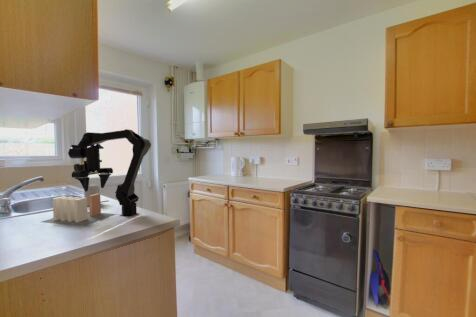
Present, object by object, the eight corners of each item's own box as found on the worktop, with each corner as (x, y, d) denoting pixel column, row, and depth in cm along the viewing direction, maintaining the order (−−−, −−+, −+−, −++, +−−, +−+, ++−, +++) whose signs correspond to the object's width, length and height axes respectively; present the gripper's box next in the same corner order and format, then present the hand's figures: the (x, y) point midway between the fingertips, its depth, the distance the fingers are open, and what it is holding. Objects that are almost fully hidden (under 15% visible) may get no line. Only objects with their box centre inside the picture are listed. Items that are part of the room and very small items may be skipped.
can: (81, 206, 131) (80, 185, 130) (93, 203, 138) (92, 183, 137) (91, 207, 129) (90, 186, 128) (103, 204, 136) (102, 184, 135)
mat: (116, 215, 114) (116, 214, 114) (84, 227, 97) (84, 226, 97) (76, 212, 120) (76, 210, 120) (40, 223, 102) (40, 221, 102)
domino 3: (80, 218, 108) (79, 197, 107) (70, 221, 103) (69, 199, 102) (77, 217, 108) (77, 196, 107) (67, 221, 103) (66, 199, 103)
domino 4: (87, 218, 107) (86, 197, 106) (77, 222, 102) (77, 200, 101) (84, 218, 107) (84, 197, 107) (74, 222, 102) (74, 199, 102)
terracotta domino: (100, 213, 115) (100, 193, 115) (92, 216, 110) (91, 195, 110) (98, 213, 116) (97, 193, 115) (89, 216, 111) (88, 195, 110)
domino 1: (66, 217, 109) (66, 196, 109) (56, 220, 105) (55, 198, 104) (64, 216, 110) (63, 196, 109) (53, 220, 105) (52, 198, 104)
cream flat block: (73, 217, 109) (72, 196, 108) (63, 220, 104) (62, 199, 103) (70, 217, 109) (70, 196, 108) (60, 220, 104) (59, 198, 103)
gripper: (96, 157, 124) (97, 186, 125) (61, 159, 106) (63, 192, 107) (113, 157, 121) (114, 186, 122) (80, 159, 103) (82, 193, 104)
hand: (94, 189), depth 114 cm, fingers open, 9 cm apart
